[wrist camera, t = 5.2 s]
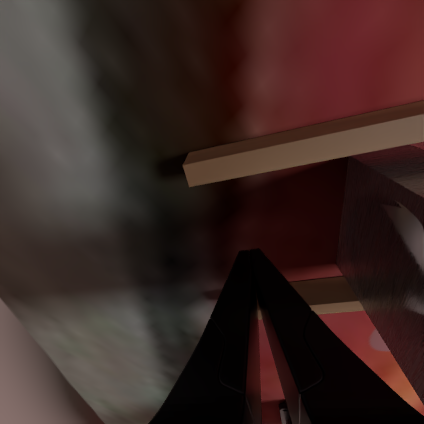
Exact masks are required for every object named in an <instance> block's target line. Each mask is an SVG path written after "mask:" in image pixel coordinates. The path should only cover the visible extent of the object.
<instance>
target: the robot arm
mask: <svg viewBox="0 0 424 424" xmlns="http://www.w3.org/2000/svg"><path fill="white" fill-rule="evenodd" d="M252 269H253V270H252ZM255 288H256V289H255ZM256 294H257V295H256ZM257 300H258V302H257ZM258 305H259V309H260V312H261V316H262V319H263V323H264V326H265V330H266V333H267V337H268V340H269V344H270V347H271V351H272V354H273V358H274V361H275V365H276V368H277V372H278V375H279V379H280V382H281V386H282V389H283V393H284V396H285V400H286V403H281V404H279V409H280V415H281V421H282V424H424V416H423V415H422V414H420V413H419V412H418V411H417V410H415V409H414V408H413V407H411V406H410V405H409V404H408V403H407V402H406V401H404V400H403V399H402V398H401V397H400V396H399V395H398V394H397V393H396V392H395V391H393V390H392V389H391V388H390V387H389V386H388V385H387V384H386V383H385V382H384V381H383V380H382V379H381V378H380V377H379V376H378V375H377V374H375V373H374V372H373V371H372V370H371V369H370V368H369V367H368V366H367V365H366V364H365V363H364V362H363V361H362V360H361V359H360V358H359V357H358V356H356V355H355V354H354V353H353V352H352V351H351V350H350V349H349V348H348V347H347V346H346V345H345V344H344V343H343V342H342V341H341V340H340V339H339V338H338V337H337V336H336V335H335V334H334V333H333V332H332V331H331V330H330V329H329V328H328V326H327V325H326V324H325V323H324V322H323V321H322V320H321V319H320V318H319V316H318V315H317V314H316V313H315V312H314V311H312V308H311V307H310V306H309V305H308V304H307V303H306V302H305V300H304V299H303V298H302V297H301V296H300V295H299V293H298V292H297V291H296V290H295V289H294V288H293V287H292V285H291V284H290V283H289V282H288V281H287V280H286V278H285V277H284V276H283V275H282V274H281V273H280V272H279V270H278V269H277V268H276V267H275V266H274V265H273V263H272V262H271V261H270V260H269V259H268V258H267V257H266V255H265V254H264V253H263V252H262V251H261V250H260V249H259V248H257V249H251V250H250V251H249V250H242V251H239V253H238V255H237V257H236V260H235V262H234V264H233V267H232V269H231V271H230V273H229V276H228V278H227V280H226V283H225V285H224V287H223V289H222V292H221V294H220V296H219V298H218V301H217V303H216V305H215V308H214V310H213V312H212V314H211V317H210V318H211V319H209V321H208V323H207V326H206V328H205V330H204V332H203V334H202V336H201V338H200V340H199V343H198V344H197V346H196V348H195V350H194V352H193V354H192V355H191V357H190V359H189V361H188V362H187V364H186V366H185V368H184V369H183V371H182V373H181V374H180V376H179V378H178V380H177V381H176V383H175V385H174V386H173V388H172V390H171V392H170V393H169V395H168V397H167V398H166V400H165V402H164V403H163V405H162V406H161V408H160V409H159V411H158V412H157V413H156V415H155V416H154V417H153V419H152V420H151V421H150V422H149V423H148V424H262V413H261V384H260V354H259V325H258Z"/></svg>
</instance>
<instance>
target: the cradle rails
mask: <svg viewBox="0 0 424 424" xmlns="http://www.w3.org/2000/svg"><path fill="white" fill-rule="evenodd" d="M423 141H424V101H419V102H415V103H410V104H406V105H401V106H397V107H392V108H388V109H383V110H379V111H374V112H370V113H365V114H361V115H356V116H351V117H347V118H342V119H338V120H333V121H329V122H324V123H320V124H315V125H311V126H306V127H302V128H297V129H293V130H288V131H284V132H279V133H275V134H270V135H266V136H261V137H257V138H252V139H248V140H243V141H239V142H234V143H230V144H225V145H221V146H216V147H212V148H207V149H203V150H198V151H194V152H189V153H188V155H187V157H186V160H185V162H184V164H183V168H184V171H185V175H186V178H187V181H188V184H189V187H192V186H197V185H203V184H208V183H213V182H218V181H223V180H228V179H233V178H239V177H244V176H249V175H254V174H259V173H264V172H269V171H275V170H280V169H285V168H290V167H295V166H300V165H305V164H310V163H316V162H321V161H326V160H331V159H336V158H341V157H346V156H352V155H357V154H362V153H367V152H372V151H377V150H382V149H387V148H393V147H398V146H403V145H408V144H413V143H418V142H423ZM289 283H290V284H291V285H292V287H293V288H294V289H295V290H296V291H297V292H298V293H299V295H300V296H301V297H302V298H303V299H304V300H305V302H306V303H307V304H308V305H309V306H310V307H311V308H312V311H314V312H315V313H316V314H328V313H340V312H351V311H363V310H364V308H363V307H362V305H361V303H360V302H359V300H358V298H357V297H356V295H355V294H354V292H353V290H352V289H351V287H350V286H349V284H348V282H347V281H346V279H345V278H344V276H343V277H334V278H325V279H316V280H307V281H298V282H289ZM255 289H256V288H255ZM256 295H257V294H256ZM257 302H258V300H257ZM259 319H262V316H261V312H260V309H259V305H258V320H259Z"/></svg>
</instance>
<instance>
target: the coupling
mask: <svg viewBox="0 0 424 424" xmlns="http://www.w3.org/2000/svg"><path fill="white" fill-rule="evenodd" d="M336 265H337V266H338V268H339V270H340V271H341V273H342V274H343V276H344V278H345V279H346V281H347V282H348V284H349V286H350V287H351V289H352V290H353V292H354V294H355V295H356V297H357V298H358V300H359V302H360V303H361V305H362V307H363V308H364V310H365V311H366V313H367V315H368V316H369V318H370V319H371V321H372V323H373V324H374V326H375V327H376V329H377V330H378V332H379V334H380V335H381V337H382V339H383V340H384V342H385V343H386V345H387V347H388V348H389V350H390V352H391V353H392V355H393V356H394V358H395V360H396V361H397V363H398V364H399V366H400V368H401V369H402V371H403V372H404V374H405V376H406V377H407V379H408V380H409V382H410V384H411V385H412V387H413V388H414V390H415V392H416V393H417V395H418V397H419V398H420V400H421V401H422V403H423V405H424V150H423V149H420V148H417V147H414V146H411V145H403V146H398V147H393V148H387V149H382V150H377V151H372V152H367V153H362V154H357V155H352V156H349V159H348V167H347V175H346V184H345V192H344V200H343V208H342V217H341V225H340V233H339V241H338V250H337V258H336Z"/></svg>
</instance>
